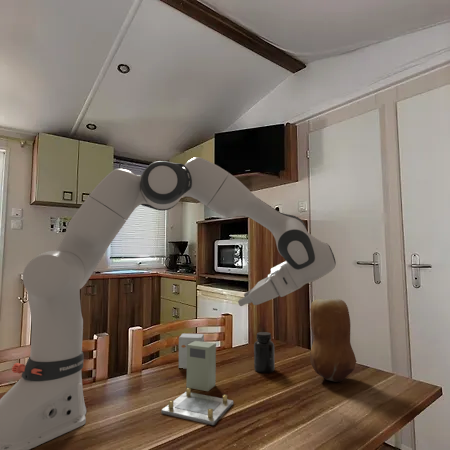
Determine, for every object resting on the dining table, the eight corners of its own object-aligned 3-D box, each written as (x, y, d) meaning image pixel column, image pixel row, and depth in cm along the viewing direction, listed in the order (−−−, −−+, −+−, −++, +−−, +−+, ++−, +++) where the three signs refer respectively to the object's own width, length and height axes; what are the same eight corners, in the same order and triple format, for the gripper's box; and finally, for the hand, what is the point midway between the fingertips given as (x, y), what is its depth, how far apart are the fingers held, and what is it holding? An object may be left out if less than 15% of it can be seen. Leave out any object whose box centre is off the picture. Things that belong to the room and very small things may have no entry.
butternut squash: (322, 369, 113) (320, 294, 115) (362, 379, 104) (360, 298, 106) (302, 380, 102) (301, 298, 104) (345, 393, 93) (343, 302, 96)
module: (207, 391, 94) (208, 347, 95) (186, 387, 97) (187, 344, 98) (215, 385, 98) (215, 343, 100) (194, 381, 101) (195, 340, 102)
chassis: (213, 425, 75) (213, 414, 75) (161, 413, 81) (161, 403, 81) (233, 403, 86) (233, 394, 86) (186, 394, 92) (186, 385, 92)
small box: (204, 364, 117) (204, 333, 118) (201, 369, 111) (201, 337, 112) (181, 363, 118) (182, 333, 119) (178, 368, 112) (178, 336, 113)
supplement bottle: (269, 365, 116) (268, 330, 117) (278, 372, 109) (277, 335, 111) (250, 367, 114) (250, 331, 115) (259, 374, 107) (259, 336, 108)
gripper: (280, 265, 108) (243, 284, 111) (274, 274, 88) (230, 297, 91) (289, 282, 107) (252, 301, 110) (286, 296, 88) (241, 318, 90)
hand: (242, 299), depth 101 cm, fingers open, 8 cm apart
